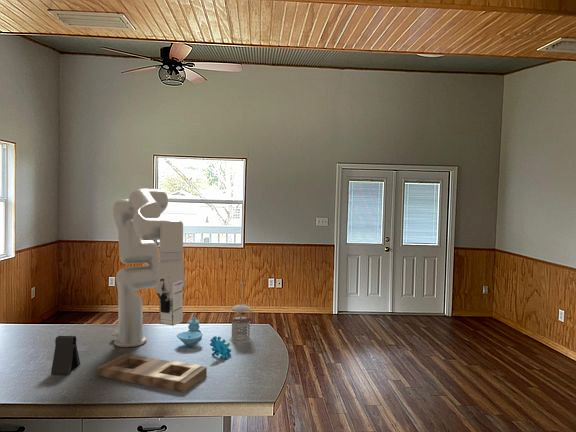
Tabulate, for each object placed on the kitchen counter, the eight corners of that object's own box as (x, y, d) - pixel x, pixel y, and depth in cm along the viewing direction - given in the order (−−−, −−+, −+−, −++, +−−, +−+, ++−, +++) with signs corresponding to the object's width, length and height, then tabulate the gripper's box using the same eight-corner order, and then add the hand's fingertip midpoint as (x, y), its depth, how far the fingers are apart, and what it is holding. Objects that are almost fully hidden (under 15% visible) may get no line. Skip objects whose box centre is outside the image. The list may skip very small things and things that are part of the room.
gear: (221, 359, 167) (207, 336, 171) (211, 368, 169) (198, 345, 173) (238, 354, 177) (225, 333, 181) (228, 363, 179) (215, 341, 182)
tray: (98, 375, 154) (98, 366, 154) (125, 361, 167) (125, 352, 167) (184, 392, 143) (184, 382, 143) (206, 375, 156) (206, 366, 156)
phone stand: (64, 364, 163) (63, 332, 162) (80, 365, 163) (80, 332, 162) (50, 374, 154) (50, 340, 153) (68, 375, 154) (67, 340, 153)
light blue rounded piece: (200, 350, 181) (200, 328, 181) (173, 349, 181) (174, 327, 180) (207, 336, 199) (207, 315, 199) (183, 335, 199) (183, 315, 198)
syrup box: (183, 321, 153) (183, 279, 153) (173, 326, 148) (173, 282, 147) (168, 319, 155) (169, 278, 155) (158, 324, 150) (158, 281, 149)
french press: (224, 339, 195) (225, 281, 194) (246, 333, 203) (247, 278, 202) (237, 345, 188) (238, 285, 187) (259, 339, 196) (260, 282, 194)
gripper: (176, 253, 160) (176, 303, 161) (145, 259, 144) (145, 315, 144) (194, 254, 157) (194, 305, 158) (165, 260, 141) (165, 317, 142)
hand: (171, 309), depth 151 cm, fingers closed on syrup box, 5 cm apart
